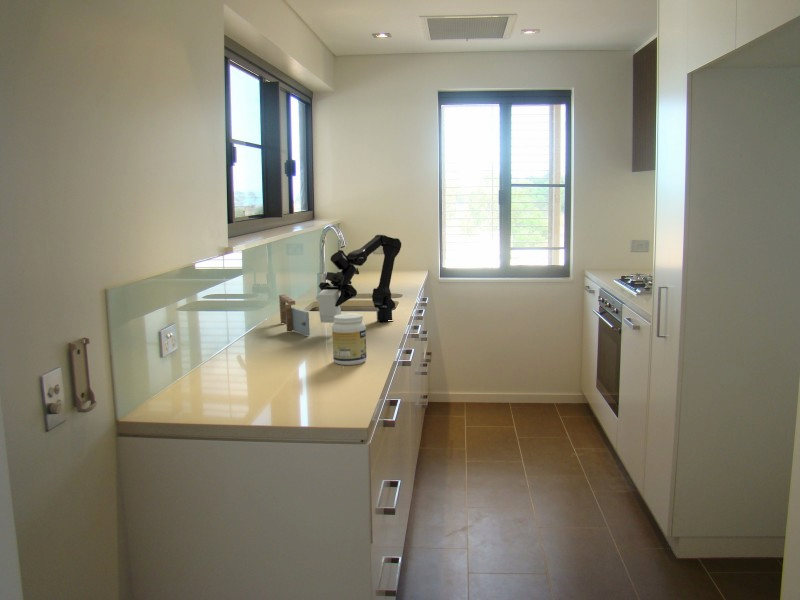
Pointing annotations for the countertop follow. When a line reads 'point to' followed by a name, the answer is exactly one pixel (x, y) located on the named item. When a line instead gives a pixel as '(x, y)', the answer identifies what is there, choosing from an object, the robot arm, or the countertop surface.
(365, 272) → the countertop surface
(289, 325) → the door frame
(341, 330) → the supplement tub
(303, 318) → the door
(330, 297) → the supplement box
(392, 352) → the countertop surface
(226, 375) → the countertop surface
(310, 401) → the countertop surface
